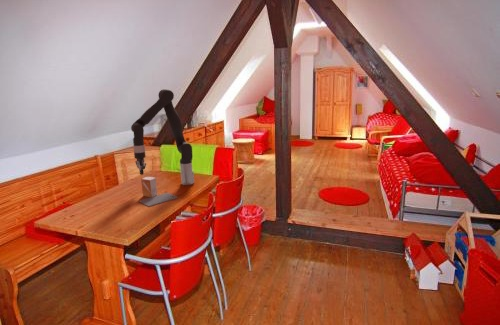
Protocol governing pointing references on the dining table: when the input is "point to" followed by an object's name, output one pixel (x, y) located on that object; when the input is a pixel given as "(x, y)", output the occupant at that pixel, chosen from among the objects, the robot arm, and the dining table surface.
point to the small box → (149, 186)
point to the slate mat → (158, 199)
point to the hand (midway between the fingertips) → (141, 174)
